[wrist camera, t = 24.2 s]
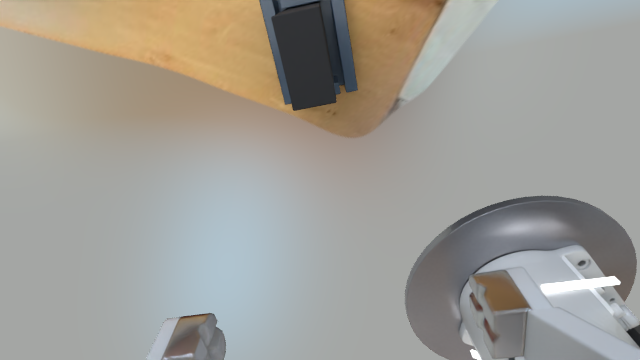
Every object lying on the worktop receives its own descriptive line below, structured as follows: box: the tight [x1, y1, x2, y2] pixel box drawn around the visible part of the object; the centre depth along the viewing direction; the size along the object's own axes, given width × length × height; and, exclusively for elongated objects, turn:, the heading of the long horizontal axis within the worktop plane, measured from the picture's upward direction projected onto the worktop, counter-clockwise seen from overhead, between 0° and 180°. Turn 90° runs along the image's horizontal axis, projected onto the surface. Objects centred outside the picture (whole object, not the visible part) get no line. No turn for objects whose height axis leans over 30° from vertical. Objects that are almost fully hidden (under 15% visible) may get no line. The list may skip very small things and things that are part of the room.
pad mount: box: [259, 0, 358, 104], centre depth 32 cm, size 8×6×4 cm
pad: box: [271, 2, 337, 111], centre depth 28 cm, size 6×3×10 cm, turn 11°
